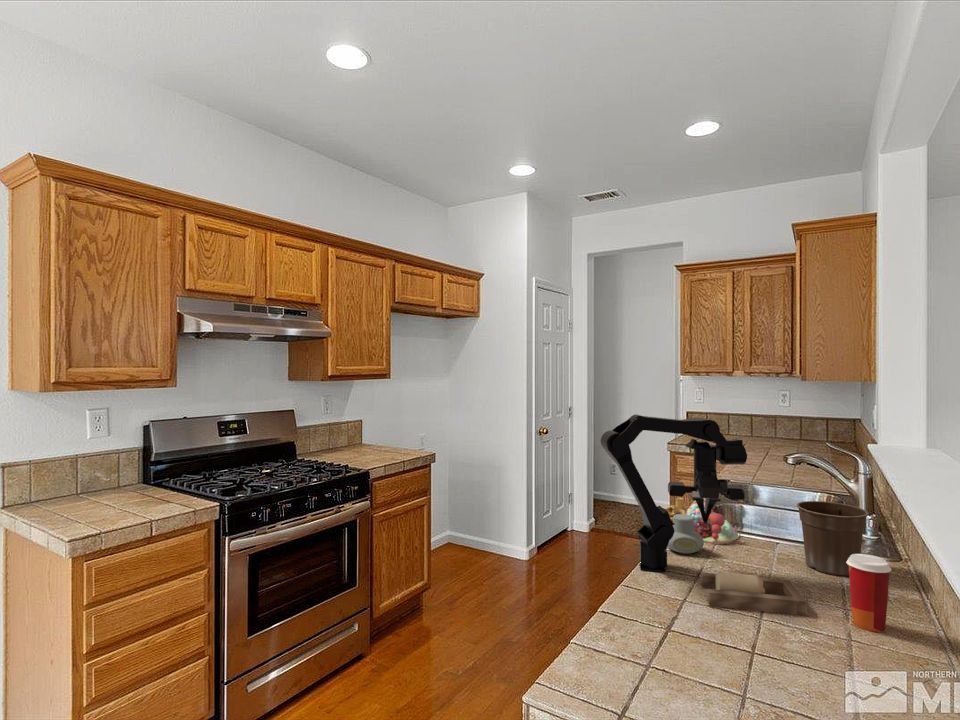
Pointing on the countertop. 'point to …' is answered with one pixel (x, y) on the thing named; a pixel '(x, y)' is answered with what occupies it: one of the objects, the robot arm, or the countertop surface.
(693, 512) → the candy landscape model
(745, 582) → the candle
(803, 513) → the plant pot
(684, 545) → the air freshener
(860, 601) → the paper cup
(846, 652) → the countertop surface
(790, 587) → the u rest
